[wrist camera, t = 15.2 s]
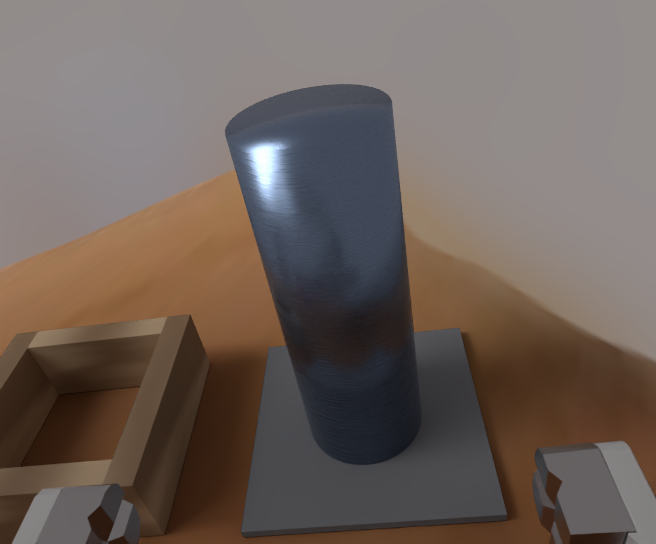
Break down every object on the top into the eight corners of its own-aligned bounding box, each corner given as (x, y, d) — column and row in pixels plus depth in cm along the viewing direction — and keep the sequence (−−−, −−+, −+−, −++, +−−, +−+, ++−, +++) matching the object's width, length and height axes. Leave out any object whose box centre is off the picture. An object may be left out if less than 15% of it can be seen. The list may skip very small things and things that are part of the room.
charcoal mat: (243, 537, 21) (240, 532, 21) (270, 352, 29) (268, 347, 29) (506, 520, 20) (507, 514, 20) (459, 333, 28) (459, 327, 28)
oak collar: (-50, 549, 23) (-102, 503, 21) (47, 379, 30) (16, 333, 28) (164, 534, 22) (131, 485, 20) (210, 362, 29) (190, 314, 27)
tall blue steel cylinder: (307, 469, 23) (209, 162, 14) (312, 378, 27) (238, 98, 18) (428, 460, 22) (398, 134, 14) (415, 369, 26) (386, 75, 18)
